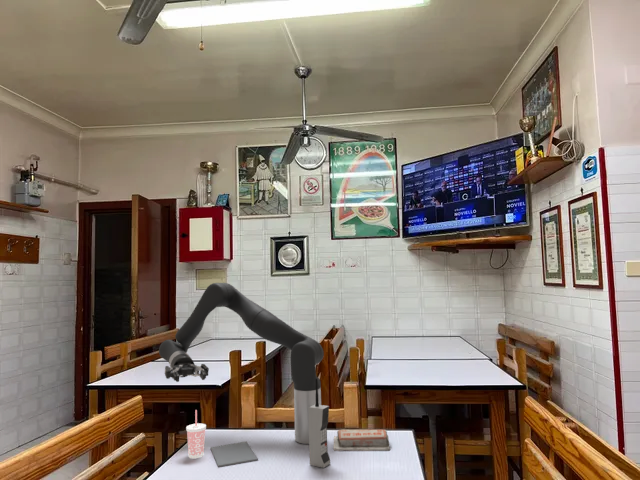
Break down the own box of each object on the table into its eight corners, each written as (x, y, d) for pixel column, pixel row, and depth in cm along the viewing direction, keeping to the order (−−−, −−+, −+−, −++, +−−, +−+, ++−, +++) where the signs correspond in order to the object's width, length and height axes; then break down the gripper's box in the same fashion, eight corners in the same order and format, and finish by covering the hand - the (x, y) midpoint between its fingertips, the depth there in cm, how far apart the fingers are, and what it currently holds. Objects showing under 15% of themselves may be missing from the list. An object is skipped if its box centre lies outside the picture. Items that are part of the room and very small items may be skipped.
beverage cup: (185, 460, 139) (185, 413, 140) (186, 453, 145) (186, 408, 146) (206, 458, 140) (206, 411, 141) (206, 450, 146) (205, 406, 147)
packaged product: (386, 426, 153) (389, 436, 143) (387, 440, 152) (390, 452, 142) (333, 426, 154) (332, 436, 144) (333, 441, 153) (333, 452, 143)
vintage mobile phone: (324, 468, 130) (321, 380, 132) (309, 465, 133) (307, 378, 135) (330, 463, 133) (328, 377, 136) (316, 460, 136) (314, 376, 138)
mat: (246, 442, 152) (246, 441, 152) (258, 460, 138) (258, 458, 138) (210, 448, 148) (210, 447, 148) (218, 467, 133) (218, 465, 133)
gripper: (161, 354, 162) (170, 368, 148) (201, 352, 169) (213, 365, 154) (160, 375, 162) (168, 390, 148) (199, 372, 169) (211, 387, 155)
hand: (191, 378), depth 151 cm, fingers open, 8 cm apart
